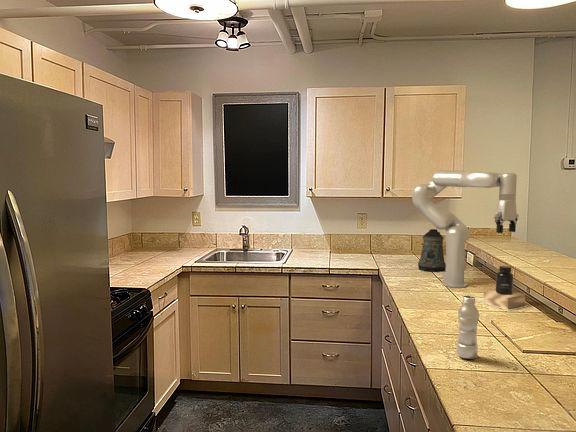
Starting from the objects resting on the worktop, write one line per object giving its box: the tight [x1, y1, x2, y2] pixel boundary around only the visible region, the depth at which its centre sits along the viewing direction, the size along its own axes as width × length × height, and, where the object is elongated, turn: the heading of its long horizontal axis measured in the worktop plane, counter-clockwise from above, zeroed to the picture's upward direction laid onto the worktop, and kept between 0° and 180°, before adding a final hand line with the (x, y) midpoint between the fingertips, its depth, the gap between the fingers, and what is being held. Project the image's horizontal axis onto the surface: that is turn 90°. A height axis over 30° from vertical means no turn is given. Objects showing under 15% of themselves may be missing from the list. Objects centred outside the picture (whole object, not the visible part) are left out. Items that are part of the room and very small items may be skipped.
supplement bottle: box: [495, 265, 514, 295], centre depth 203 cm, size 7×7×12 cm
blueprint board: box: [479, 300, 531, 312], centre depth 204 cm, size 16×14×1 cm
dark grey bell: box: [417, 228, 446, 273], centre depth 284 cm, size 16×19×25 cm
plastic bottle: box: [456, 295, 480, 360], centre depth 147 cm, size 6×7×20 cm
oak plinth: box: [483, 289, 526, 310], centre depth 204 cm, size 12×12×5 cm
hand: (505, 232), depth 226 cm, fingers open, 9 cm apart
